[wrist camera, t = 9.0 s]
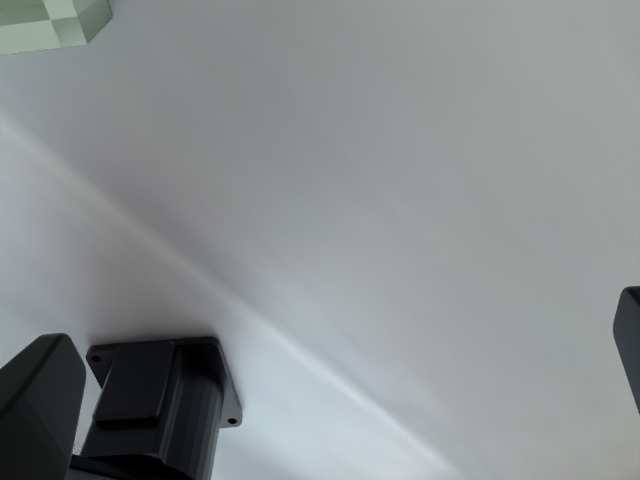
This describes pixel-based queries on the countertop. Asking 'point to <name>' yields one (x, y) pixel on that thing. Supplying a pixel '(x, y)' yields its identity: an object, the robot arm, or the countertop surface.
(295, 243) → the countertop surface
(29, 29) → the tray
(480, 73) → the countertop surface
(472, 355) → the countertop surface
